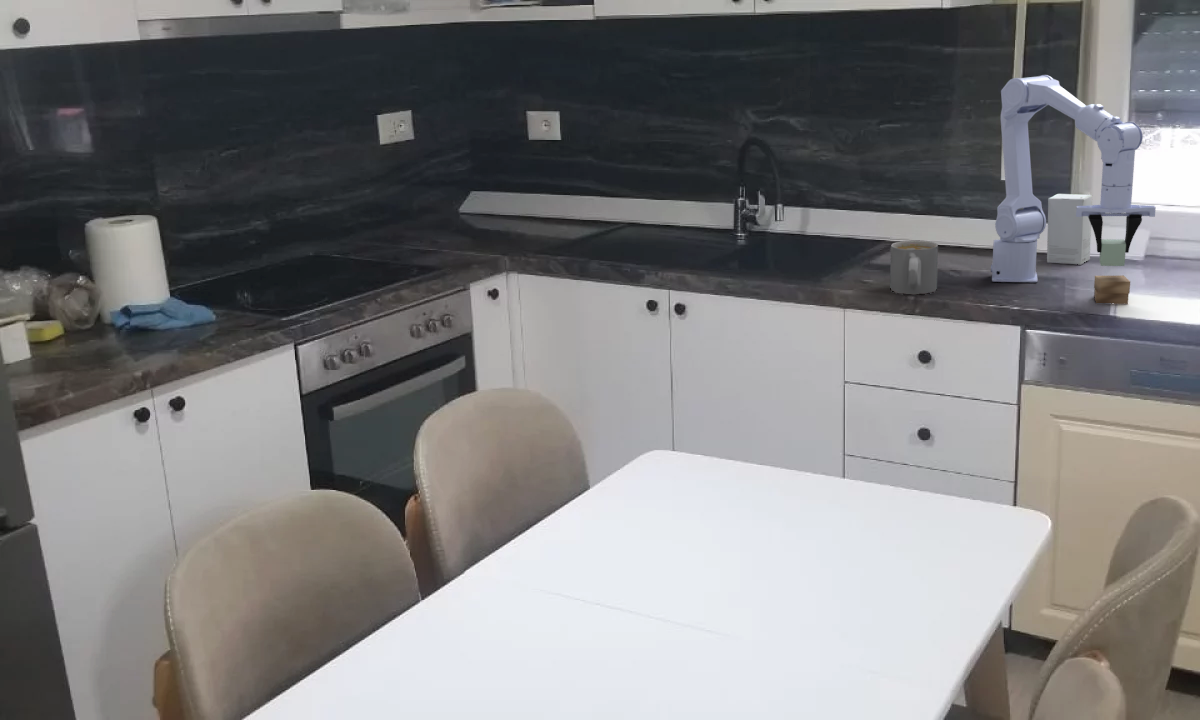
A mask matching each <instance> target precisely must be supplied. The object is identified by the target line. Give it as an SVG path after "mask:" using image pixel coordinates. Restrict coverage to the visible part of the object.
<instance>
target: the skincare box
mask: <svg viewBox="0 0 1200 720" xmlns="http://www.w3.org/2000/svg"><path fill="white" fill-rule="evenodd" d="M1092 198H1093V195H1092V194H1079V193H1078V194H1075V193H1073V194H1071V193H1057V194H1055V195H1053V196H1051V197H1048V199H1047V201H1048V202H1047V240H1046V241H1047V247H1046V248H1047V249H1046V251H1047V252H1046V262H1047V263H1049V264H1050V263H1053V264H1067V265H1077V264H1078V265H1079V266H1081V265H1083V264H1085V263H1086V261H1087V262H1088V261H1090V260H1091V238H1092V236H1091V235H1092V225H1091V223H1090V221H1089V218H1088V216H1082V217H1076V206H1089V205H1093V204H1092V203H1093V201H1092V200H1093V199H1092ZM1084 262H1085V263H1084Z"/></svg>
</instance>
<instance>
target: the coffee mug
mask: <svg viewBox="0 0 1200 720" xmlns="http://www.w3.org/2000/svg"><path fill="white" fill-rule="evenodd" d="M938 256H939V245H938V243H936V242H932V241H927V240H903V241H897V242H893V243H892V244H890V272H889V273H890V274H889V278H890V279H889V280H890V281H889V282H890V284H889V286H890V287H889V289H890V288H891V289H892V290H893V291H896V292H898V293H906V294H919V293H928V292H932V291H935V290H936V289H937V290H938V263H939V262H938Z"/></svg>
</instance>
